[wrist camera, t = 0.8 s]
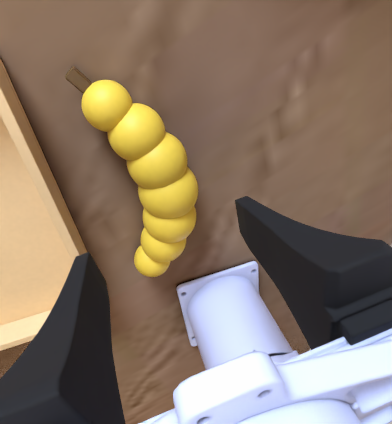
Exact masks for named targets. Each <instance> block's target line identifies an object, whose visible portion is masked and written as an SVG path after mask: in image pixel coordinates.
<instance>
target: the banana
mask: <svg viewBox="0 0 392 424" xmlns="http://www.w3.org/2000/svg"><path fill="white" fill-rule="evenodd" d="M65 78H66V79H67V80H68V81H69V82H70V83H72V84H73V85H74V86H75V87H76V88H77V89H79V90H80V91H81V92H82V93H84V94H83V97H82V110H83V114H84V116H85V118H86V119H87V121H88V122H89V123H90V124H91V125H92V126H93V127H95V128H96V129H99V130H101V131H105V132H107V134H108V140H109V142H110V145H111V147H112V148H113V150H114V151H115V152H116V153H117V154H118V155H119V156H120V157H122V158H124V159H126V160H127V168H128V171H129V174H130V175H131V177H132V179H133V180H134V181H135V182H136V183H137V184H138V185H139V186H138V194H139V199H140V201H141V203H142V205H143V207H144V210H143V223H144V226H145V227H144V229H143V231H142V233H141V245H140V246H139V247H138V249H137V250H136V252H135V256H134V263H135V266H136V268H137V270H138V271H139V272H140V273H141V274H143V275H145V276H148V277H156V276H159V275H161V274H163V273H164V272H165V271H166V270H167V268H168V266H169V264H170V261H172V260H174V259H176V258H177V257H178V256H180V255H181V253H182V252H183V250H184V248H185V245H186V237H187V236H189V234H190V233H191V232H192V230H193V229H194V226H195V223H196V210H195V207H194V205H195V203H196V200H197V197H198V184H197V180H196V178H195V176H194V174H193V173H192V171H191V170H190V169H189V168H188V167H187V155H186V151H185V149H184V147H183V145H182V144H181V142H180V141H179V140H178V139H177V138H176V137H175V136H173V135H171V134H170V133H167V132H165V127H164V124H163V121H162V119H161V117H160V116H159V115H158V114H157V113H156V112H155V111H154V110H153V109H152V108H150V107H148V106H146V105H143V104H138V103H132V99H131V97H130V95H129V93H128V92H127V90H126V89H125V88H124V87H123V86H122V85H120V84H119V83H117V82H114V81H111V80H100V81H96V82H94V83H92V84H91V81H90V80H89V79H88V78H86V77H85V76H84V75H83V74H82V73H81V72H80V71H79V70H78V69H76V68H75V67H74V66H73V67H72V68H71V69H70V70H69V71H68V73H67V74H66V76H65Z"/></svg>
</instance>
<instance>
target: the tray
mask: <svg viewBox="0 0 392 424" xmlns="http://www.w3.org/2000/svg"><path fill="white" fill-rule="evenodd" d="M84 253H87V250H86V248H85V246H84V243H83V241H82V239H81V237H80V235H79V232H78V230H77V228H76V226H75V223H74V221H73V219H72V217H71V214H70V212H69V210H68V208H67V206H66V203H65V201H64V199H63V197H62V194H61V192H60V190H59V188H58V185H57V183H56V181H55V179H54V177H53V174H52V172H51V170H50V168H49V165H48V163H47V161H46V159H45V156H44V154H43V152H42V150H41V147H40V145H39V143H38V141H37V139H36V136H35V134H34V132H33V130H32V127H31V125H30V123H29V121H28V118H27V116H26V114H25V112H24V110H23V107H22V105H21V103H20V101H19V98H18V96H17V94H16V92H15V89H14V87H13V85H12V83H11V81H10V78H9V76H8V74H7V72H6V69H5V67H4V65H3V63H2V60H1V58H0V351H1V350H4V349H7V348H10V347H14V346H17V345H20V344H23V343H26V342H29V341H32V340H33V339H34V337H35V336H36V334H37V333H38V332H39V330H40V329H41V327H42V325H43V324H44V322H45V321H46V319H47V317H48V316H49V314H50V312H51V310H52V308H53V306H54V304H55V302H56V300H57V299H58V297H59V294H60V292H61V290H62V288H63V286H64V283H65V281H66V279H67V276H68V274H69V272H70V269H71V267H72V264H73V262H74V259H75V257H76V256H79V255H82V254H84Z"/></svg>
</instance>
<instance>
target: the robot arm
mask: <svg viewBox="0 0 392 424" xmlns="http://www.w3.org/2000/svg"><path fill="white" fill-rule="evenodd" d="M235 203H236V209H237V216H238V222H239V228H240V233H241V234H242V236H243V238H244V240H245V242H246V244H247V246H248V247H249V249H250V250H251V252H252V253H253V254H254V256H255V257H256V259H257V260H258V261H259V263H260V264H261V265H262V267H263V268H264V269H265V271H266V272H267V273H268V275H269V276H270V278H271V279H272V280H273V282H274V283H275V285H276V286H277V288H278V289H279V291H280V293H281V295H282V296H283V298H284V300H285V302H286V303H287V305H288V307H289V309H290V310H291V312H292V314H293V316H294V318H295V319H296V321H297V323H298V325H299V327H300V329H301V331H302V333H303V334H304V336H305V338H306V340H307V342H308V344H309V346H310V348H311V350H310V351H308V352H306V353H303V354H301V355H299V354H298V352H297V351H296V350H295V351H293V350H292V348H291V347H290V345H289V343H288V342H287V340H286V338H285V337H284V335H283V333H282V332H281V330H280V328H279V327H278V325H277V323H276V322H275V320H274V318H273V317H272V315H271V313H270V312H269V310H268V308H267V307H266V305H265V303H264V302H263V300H262V298H261V297H260V295H259V277H258V264H257V263H256V262H255V261H252V262H249V263H246V264H242V265H239V266H236V267H233V268H230V269H227V270H224V271H221V272H218V273H214V274H211V275H208V276H205V277H202V278H199V279H196V280H193V281H189V282H186V283H183V284H180V285H179V286H177V293H178V297H179V301H180V305H181V309H182V313H183V317H184V321H185V325H186V329H187V333H188V337H189V341H190V344H191V346H197V345H198V348H199V351H200V354H201V357H202V360H203V363H204V366H205V369H206V370H205V371H203V372H200V373H198V374H196V375H193V376H191V377H189V378H188V379H186V380H184V381H183V382H181V383H180V384H179V386H178V387H177V388H176V389H175V390H174V392H173V401H174V406H175V408H174V409H172V410H169V411H167V412H165V413H162V414H160V415H158V416H155V417H153V418H151V419H148V420H146V421H144V422H141V423H139V424H388V423H390V422H392V247H391V246H389V245H388V244H387V243H385V242H384V241H382V240H375V239H366V238H357V237H351V236H346V235H341V234H336V233H332V232H328V231H324V230H320V229H317V228H314V227H311V226H308V225H305V224H302V223H299V222H297V221H294V220H292V219H290V218H287V217H285V216H283V215H281V214H279V213H277V212H275V211H273V210H271V209H269V208H267V207H266V206H264V205H262V204H260V203H258V202H257V201H255V200H253V199H251V198H249V197H248V196H245V197H243V198H240V199H237V200H235ZM183 292H184V293H183ZM0 424H125V419H124V415H123V410H122V404H121V399H120V394H119V389H118V383H117V378H116V372H115V366H114V360H113V353H112V343H111V323H110V304H109V296H108V291H107V286H106V281H105V279H104V277H103V276H102V274H101V272H100V270H99V269H98V267H97V265H96V263H95V261H94V260H93V258H92V256H91V254H90V253H89V252H87V253H84V254H82V255H79V256H76V257H75V259H74V262H73V264H72V267H71V269H70V272H69V274H68V276H67V279H66V281H65V283H64V286H63V288H62V290H61V292H60V294H59V297H58V299H57V300H56V302H55V304H54V306H53V308H52V310H51V312H50V314H49V316H48V317H47V319H46V321H45V322H44V324H43V325H42V327H41V329H40V330H39V332H38V333H37V334H36V336H35V337H34V339H33V340H32V341H31V343H30V344H29V345H28V347H27V348H26V349H25V351H24V352H23V353H22V355H21V356H20V357H19V358H18V359H17V361H16V362H15V363H14V364H13V365H12V366H11V368H10V369H9V370H8V371H7V372H6V373H5V374H4V375H3V377H2V378H1V379H0Z"/></svg>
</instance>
